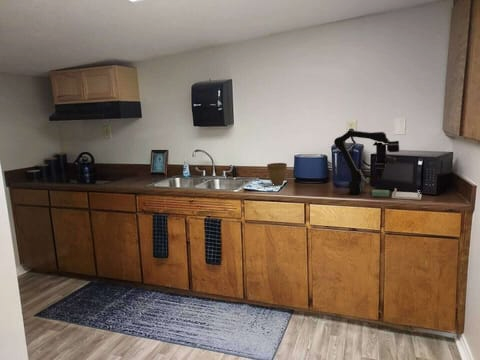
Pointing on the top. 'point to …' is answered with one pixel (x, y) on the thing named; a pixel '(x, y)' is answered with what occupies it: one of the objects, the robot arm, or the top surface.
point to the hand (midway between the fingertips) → (381, 177)
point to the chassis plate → (406, 195)
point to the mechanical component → (364, 182)
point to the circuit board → (380, 193)
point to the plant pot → (277, 172)
